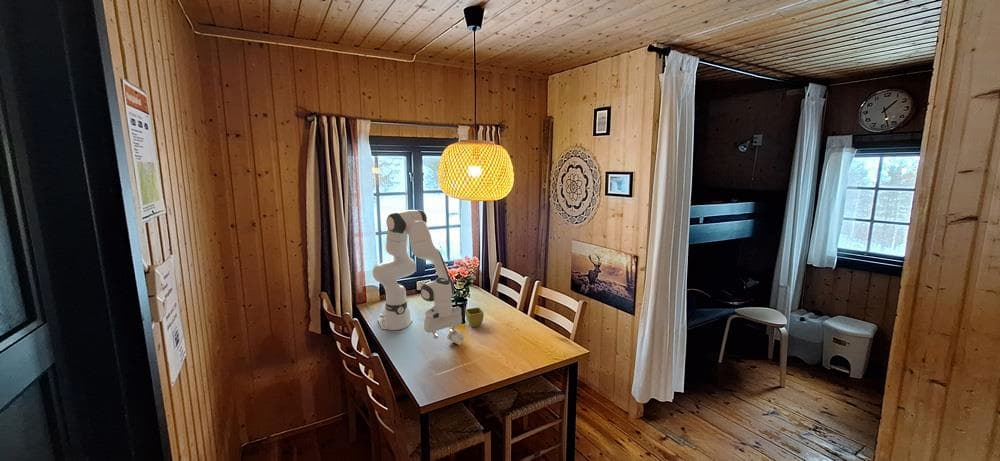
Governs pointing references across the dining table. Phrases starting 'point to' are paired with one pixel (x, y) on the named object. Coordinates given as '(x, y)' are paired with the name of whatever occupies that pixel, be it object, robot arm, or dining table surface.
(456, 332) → the letter cube
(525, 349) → the dining table surface
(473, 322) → the flower pot
